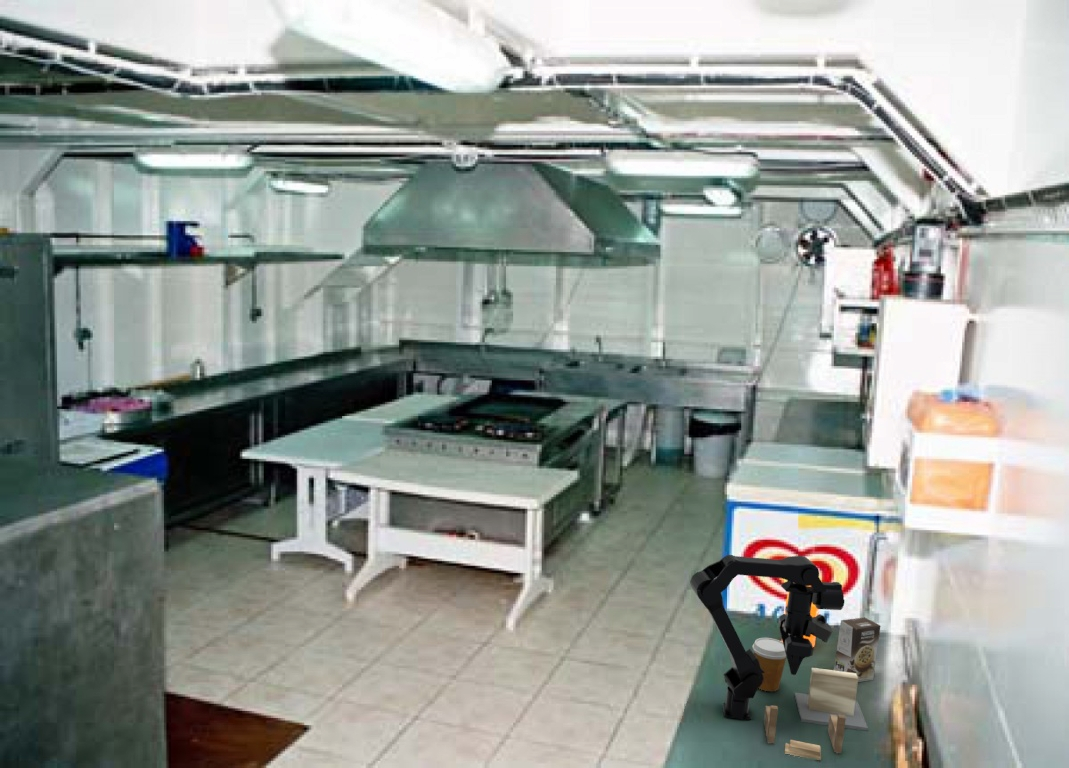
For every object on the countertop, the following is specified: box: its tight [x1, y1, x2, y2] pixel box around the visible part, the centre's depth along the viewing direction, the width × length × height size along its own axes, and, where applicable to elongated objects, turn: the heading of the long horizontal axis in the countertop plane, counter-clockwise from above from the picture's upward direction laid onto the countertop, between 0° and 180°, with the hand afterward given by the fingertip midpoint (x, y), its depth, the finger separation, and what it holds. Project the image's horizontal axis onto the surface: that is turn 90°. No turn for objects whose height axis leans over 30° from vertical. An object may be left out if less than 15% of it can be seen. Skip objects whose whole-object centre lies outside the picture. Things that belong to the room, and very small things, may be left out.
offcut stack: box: [784, 739, 822, 761], centre depth 217 cm, size 4×8×2 cm, turn 74°
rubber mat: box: [794, 692, 869, 732], centre depth 237 cm, size 14×16×1 cm
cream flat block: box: [807, 667, 859, 715], centre depth 237 cm, size 3×11×10 cm, turn 81°
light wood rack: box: [763, 705, 846, 754], centre depth 223 cm, size 10×17×9 cm, turn 81°
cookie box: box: [833, 617, 881, 683], centre depth 257 cm, size 9×6×16 cm
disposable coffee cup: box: [752, 637, 787, 692], centre depth 248 cm, size 10×10×12 cm
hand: (791, 666), depth 233 cm, fingers open, 9 cm apart
